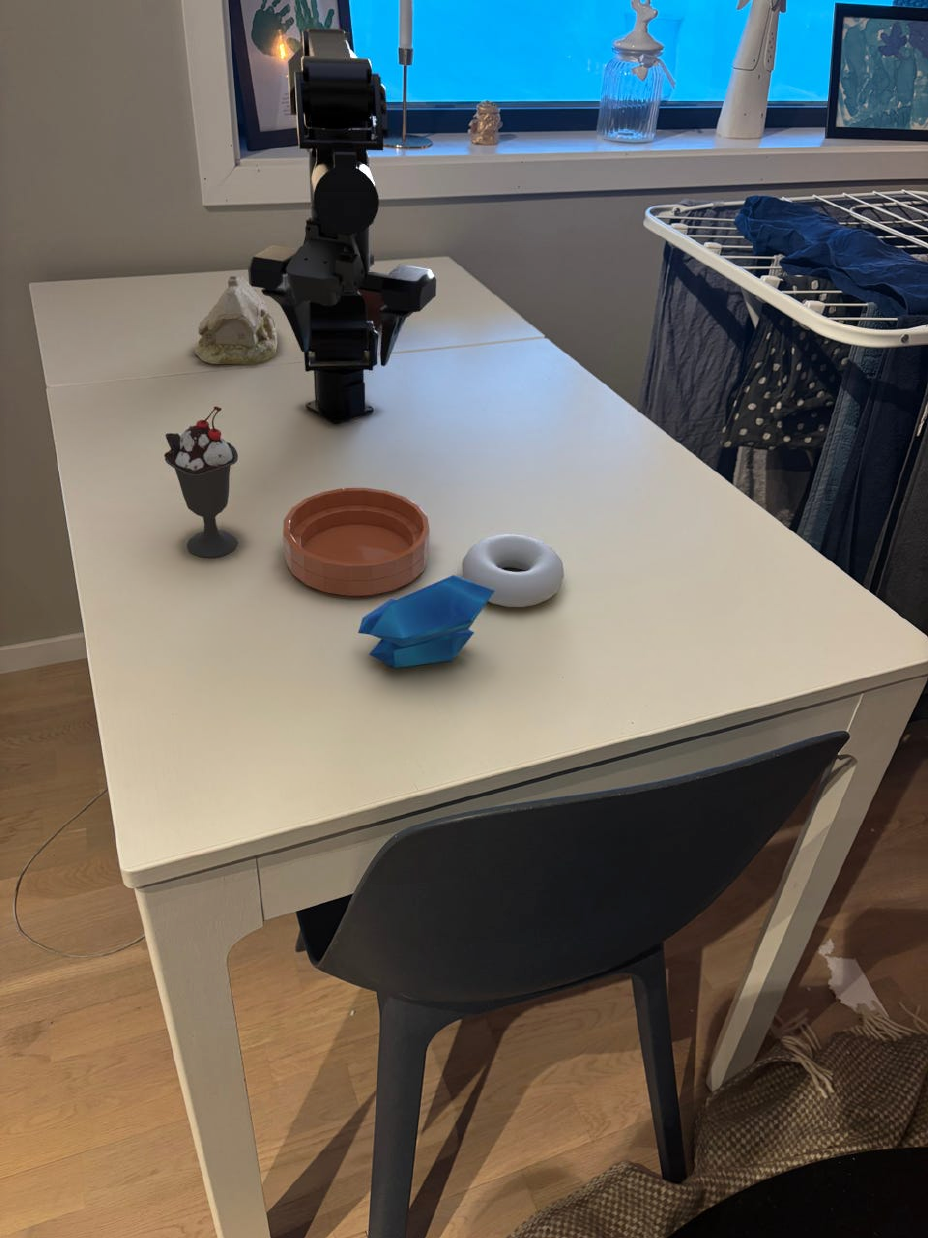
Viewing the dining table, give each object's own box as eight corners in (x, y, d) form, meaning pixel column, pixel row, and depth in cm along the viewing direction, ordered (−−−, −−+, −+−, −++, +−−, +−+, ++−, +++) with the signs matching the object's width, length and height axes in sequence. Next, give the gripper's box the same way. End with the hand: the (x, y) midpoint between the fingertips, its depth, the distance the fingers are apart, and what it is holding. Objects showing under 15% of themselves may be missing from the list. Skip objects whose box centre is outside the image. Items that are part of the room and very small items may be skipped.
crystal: (339, 581, 79) (472, 536, 81) (364, 653, 85) (486, 610, 87) (360, 634, 74) (501, 585, 75) (384, 707, 79) (515, 660, 81)
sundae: (259, 546, 95) (247, 410, 86) (201, 570, 91) (182, 430, 82) (223, 519, 98) (208, 385, 89) (166, 541, 95) (144, 404, 85)
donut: (443, 569, 94) (491, 624, 87) (444, 540, 92) (493, 594, 85) (529, 548, 98) (581, 599, 91) (532, 519, 95) (586, 569, 88)
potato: (337, 332, 141) (336, 280, 136) (353, 311, 148) (352, 261, 144) (389, 338, 140) (390, 286, 136) (403, 317, 148) (404, 267, 143)
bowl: (258, 551, 94) (254, 517, 92) (368, 506, 102) (368, 473, 100) (344, 618, 86) (342, 583, 84) (456, 564, 94) (458, 530, 92)
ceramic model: (270, 368, 129) (264, 296, 123) (188, 364, 129) (179, 291, 123) (286, 331, 140) (282, 263, 134) (212, 326, 140) (204, 258, 134)
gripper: (213, 212, 87) (230, 371, 97) (401, 240, 84) (399, 402, 93) (267, 186, 96) (277, 334, 105) (440, 210, 92) (434, 361, 102)
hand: (344, 357), depth 101 cm, fingers open, 9 cm apart
